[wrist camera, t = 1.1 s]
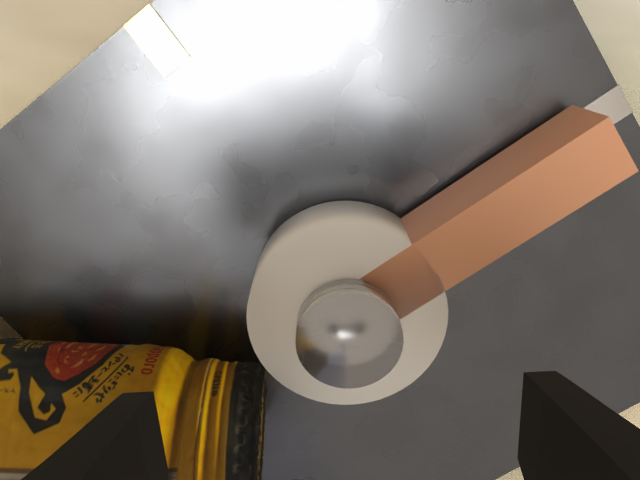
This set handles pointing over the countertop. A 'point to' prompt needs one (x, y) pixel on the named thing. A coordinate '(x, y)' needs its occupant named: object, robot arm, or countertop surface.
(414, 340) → the collar
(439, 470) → the base
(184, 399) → the condiment
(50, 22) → the countertop surface
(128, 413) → the robot arm
